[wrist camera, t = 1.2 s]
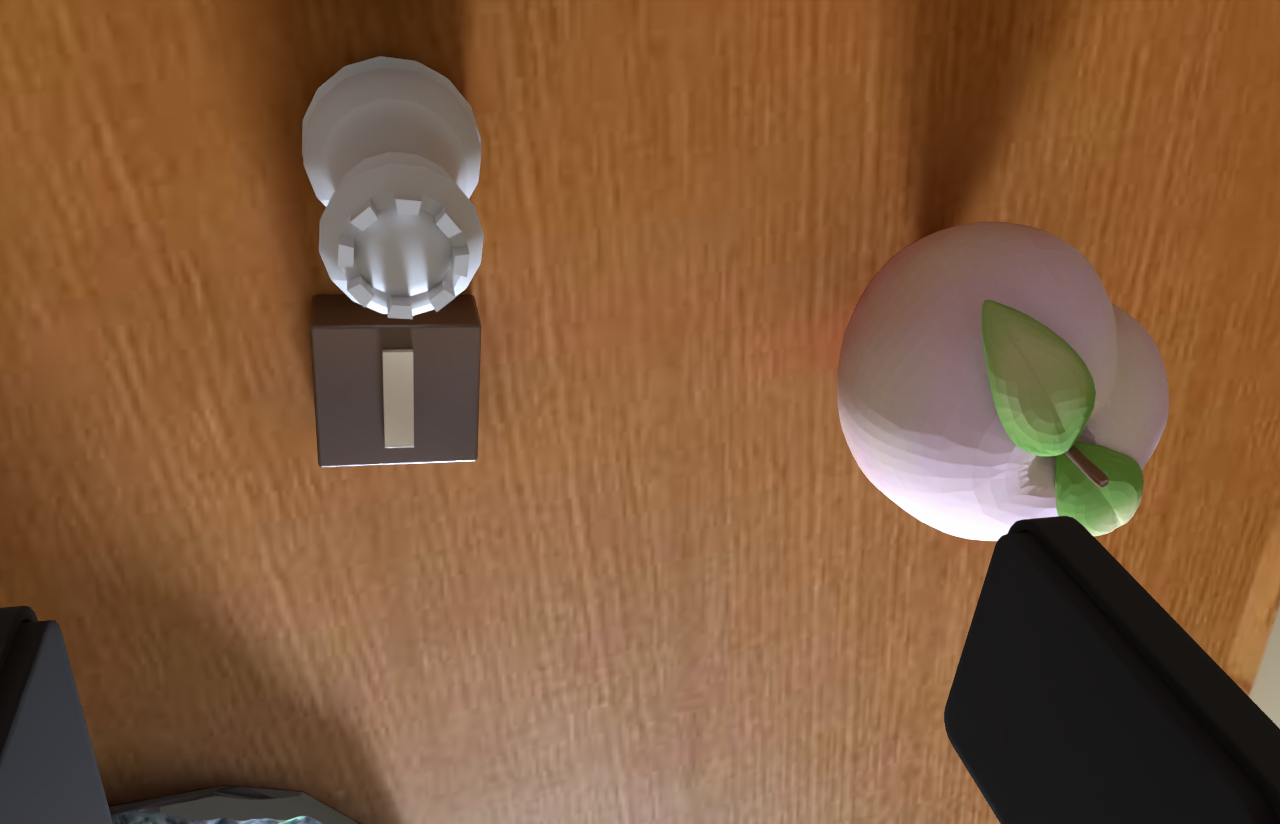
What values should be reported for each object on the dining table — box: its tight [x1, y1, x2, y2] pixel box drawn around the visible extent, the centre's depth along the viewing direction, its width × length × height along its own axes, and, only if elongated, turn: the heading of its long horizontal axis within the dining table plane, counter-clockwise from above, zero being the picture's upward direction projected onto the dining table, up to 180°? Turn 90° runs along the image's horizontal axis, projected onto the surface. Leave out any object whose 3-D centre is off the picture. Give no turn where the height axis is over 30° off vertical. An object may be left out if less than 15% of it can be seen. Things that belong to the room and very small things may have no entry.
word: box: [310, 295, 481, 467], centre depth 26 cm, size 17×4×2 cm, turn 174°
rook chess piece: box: [302, 56, 484, 319], centre depth 24 cm, size 4×4×8 cm
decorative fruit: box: [837, 222, 1169, 541], centre depth 29 cm, size 9×8×10 cm
